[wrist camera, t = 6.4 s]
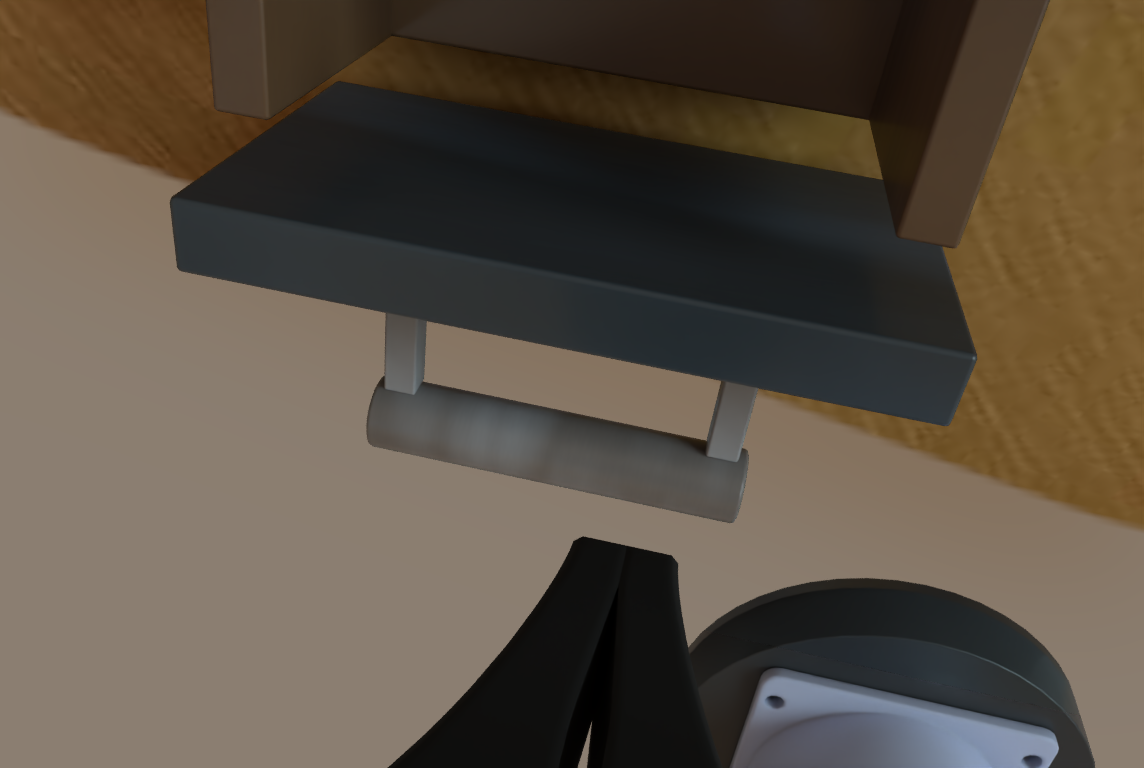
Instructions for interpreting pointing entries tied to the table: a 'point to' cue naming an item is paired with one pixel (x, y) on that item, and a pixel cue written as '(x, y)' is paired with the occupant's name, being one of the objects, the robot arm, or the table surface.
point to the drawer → (618, 214)
